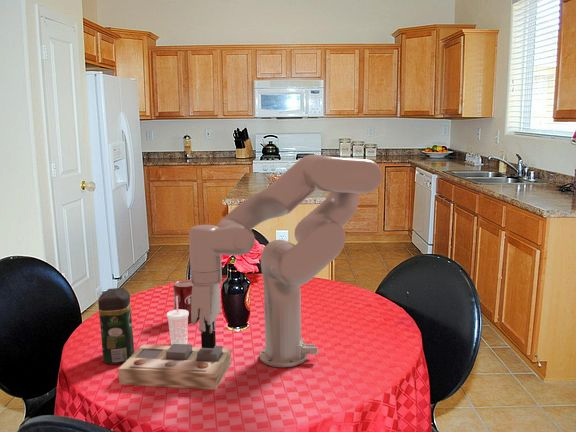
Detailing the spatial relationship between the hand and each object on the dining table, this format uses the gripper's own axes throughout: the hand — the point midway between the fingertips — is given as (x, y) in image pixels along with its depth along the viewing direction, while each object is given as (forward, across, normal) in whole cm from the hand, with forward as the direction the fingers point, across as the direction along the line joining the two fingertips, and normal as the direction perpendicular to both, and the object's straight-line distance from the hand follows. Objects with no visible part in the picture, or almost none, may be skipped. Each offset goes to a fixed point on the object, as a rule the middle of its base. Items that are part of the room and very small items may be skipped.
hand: (208, 346), depth 132 cm
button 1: (+5, 0, -16) cm, 17 cm away
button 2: (+3, 0, 0) cm, 3 cm away
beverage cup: (+7, -16, -14) cm, 22 cm away
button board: (+7, +2, -8) cm, 10 cm away
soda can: (+7, -34, -18) cm, 39 cm away
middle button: (+3, 0, -8) cm, 8 cm away
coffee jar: (+7, -5, -27) cm, 28 cm away
